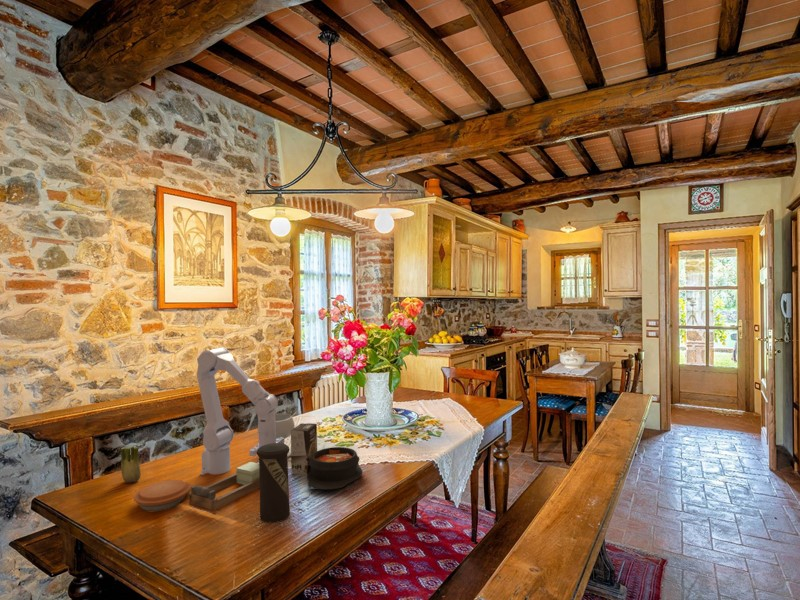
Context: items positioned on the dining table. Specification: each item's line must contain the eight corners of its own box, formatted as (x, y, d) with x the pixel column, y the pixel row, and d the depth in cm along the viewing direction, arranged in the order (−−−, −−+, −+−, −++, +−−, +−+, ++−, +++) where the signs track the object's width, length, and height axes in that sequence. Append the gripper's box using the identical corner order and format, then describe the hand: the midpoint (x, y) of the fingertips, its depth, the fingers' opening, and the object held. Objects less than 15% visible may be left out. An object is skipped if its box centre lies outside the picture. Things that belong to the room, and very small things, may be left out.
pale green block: (236, 483, 146) (236, 468, 146) (251, 476, 151) (250, 461, 151) (252, 487, 142) (251, 471, 142) (266, 480, 148) (266, 465, 148)
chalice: (250, 458, 171) (249, 419, 171) (277, 447, 183) (276, 410, 183) (275, 464, 164) (274, 424, 164) (302, 452, 176) (301, 415, 176)
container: (274, 526, 120) (272, 453, 120) (251, 518, 125) (249, 447, 124) (297, 513, 127) (295, 443, 127) (275, 505, 132) (273, 438, 132)
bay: (187, 507, 132) (186, 485, 132) (251, 476, 154) (250, 457, 154) (213, 515, 127) (212, 492, 127) (275, 482, 149) (274, 463, 149)
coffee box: (308, 478, 152) (307, 430, 151) (290, 476, 153) (289, 430, 153) (318, 467, 160) (317, 423, 160) (301, 466, 162) (300, 422, 162)
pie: (160, 519, 126) (160, 501, 126) (121, 511, 131) (121, 494, 131) (202, 495, 140) (202, 479, 140) (165, 489, 146) (165, 473, 145)
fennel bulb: (119, 482, 151) (118, 447, 151) (133, 477, 155) (132, 443, 155) (129, 485, 148) (128, 450, 148) (143, 480, 153) (142, 445, 153)
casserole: (320, 463, 164) (319, 441, 164) (369, 465, 161) (368, 442, 161) (294, 494, 139) (294, 467, 139) (352, 496, 137) (351, 469, 137)
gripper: (259, 438, 145) (260, 480, 145) (290, 426, 158) (291, 464, 158) (244, 435, 148) (245, 476, 148) (275, 424, 161) (276, 461, 161)
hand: (268, 470), depth 153 cm, fingers closed
